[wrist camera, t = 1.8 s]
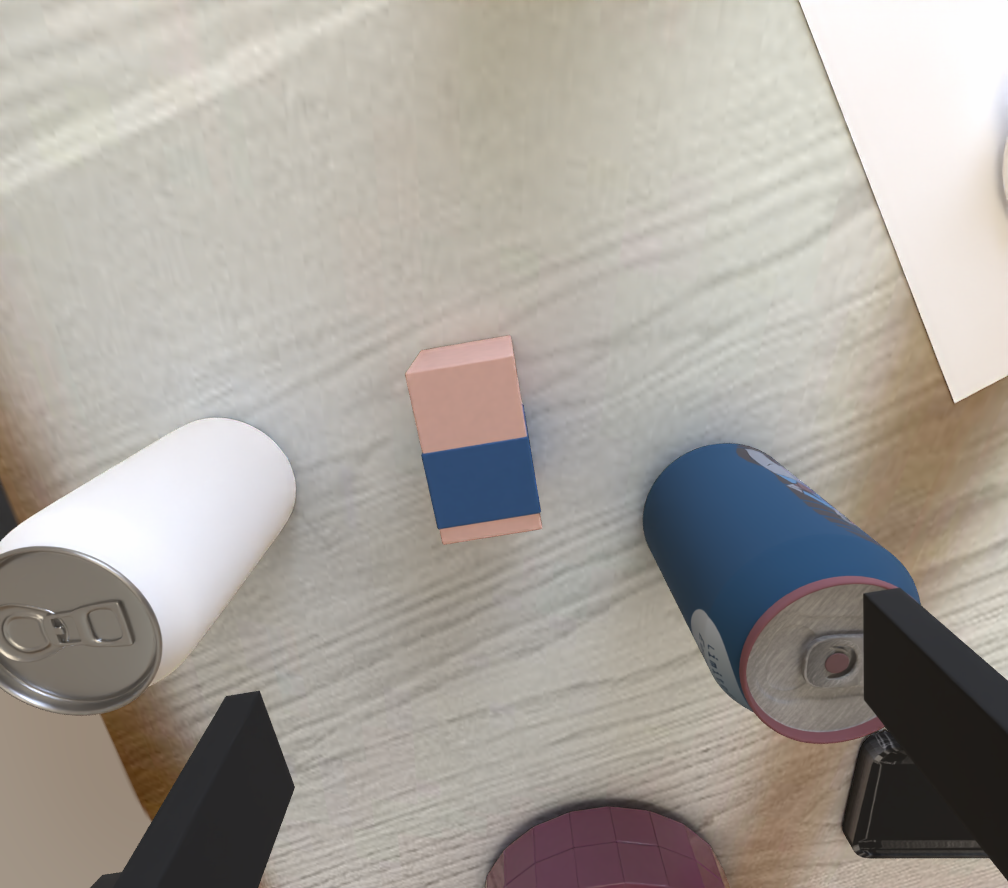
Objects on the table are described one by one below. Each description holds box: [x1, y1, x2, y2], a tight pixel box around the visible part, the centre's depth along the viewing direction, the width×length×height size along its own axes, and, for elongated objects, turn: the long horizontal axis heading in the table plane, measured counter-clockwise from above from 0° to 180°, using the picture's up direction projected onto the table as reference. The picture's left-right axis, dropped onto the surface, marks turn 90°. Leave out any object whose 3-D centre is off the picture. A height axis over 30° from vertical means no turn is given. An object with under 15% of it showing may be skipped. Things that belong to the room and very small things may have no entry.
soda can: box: [643, 443, 921, 744], centre depth 24 cm, size 7×7×12 cm
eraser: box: [405, 335, 542, 545], centre depth 26 cm, size 4×7×5 cm, turn 10°
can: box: [0, 418, 296, 716], centre depth 24 cm, size 6×6×12 cm
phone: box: [843, 732, 989, 858], centre depth 35 cm, size 8×1×15 cm
